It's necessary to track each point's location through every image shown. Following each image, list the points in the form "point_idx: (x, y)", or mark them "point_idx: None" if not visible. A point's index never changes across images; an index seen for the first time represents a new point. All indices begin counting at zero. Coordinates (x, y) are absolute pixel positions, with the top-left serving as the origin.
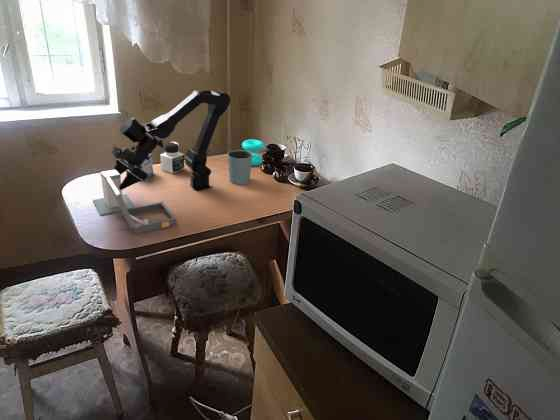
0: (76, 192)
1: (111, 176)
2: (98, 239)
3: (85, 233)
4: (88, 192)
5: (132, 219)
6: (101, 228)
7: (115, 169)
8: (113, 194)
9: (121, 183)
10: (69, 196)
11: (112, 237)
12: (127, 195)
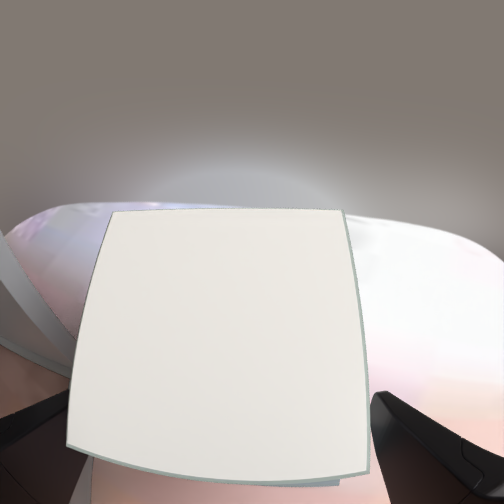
0: (449, 260)
1: (88, 298)
2: (42, 229)
3: (91, 207)
4: (442, 304)
5: (2, 345)
6: (78, 255)
7: (439, 468)
8: (28, 281)
9: (63, 404)
10: (420, 230)
11: (22, 265)
12: (317, 486)
